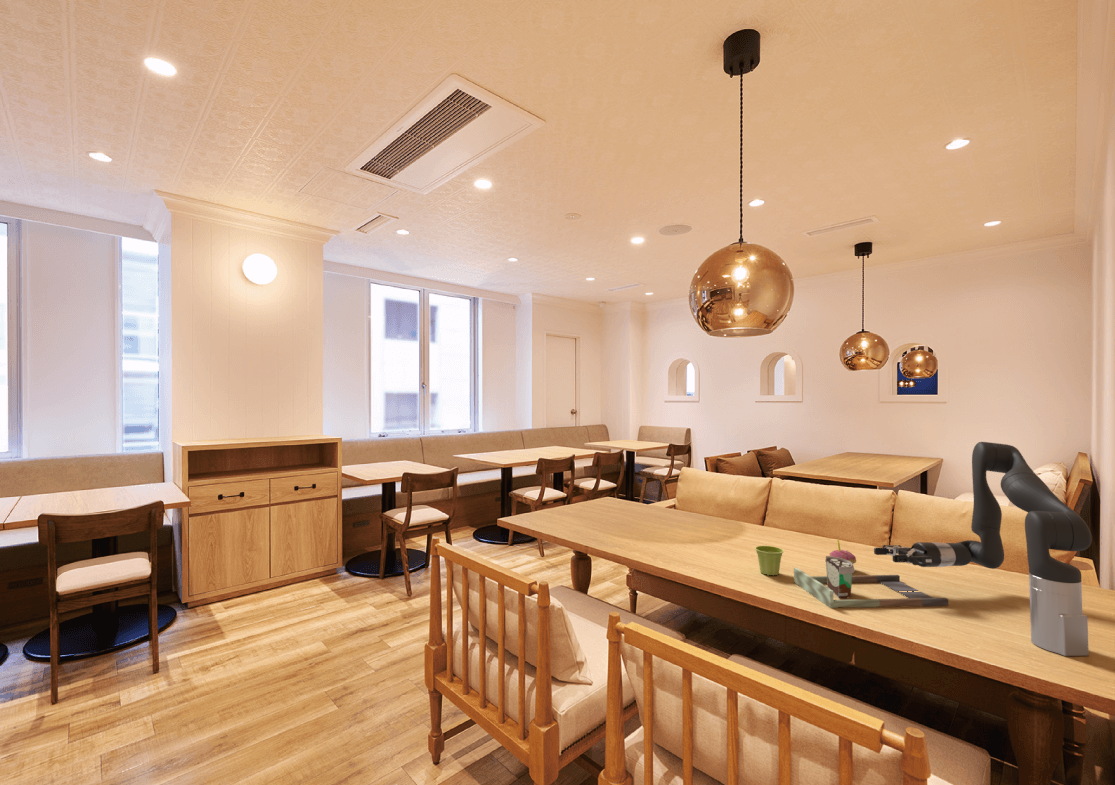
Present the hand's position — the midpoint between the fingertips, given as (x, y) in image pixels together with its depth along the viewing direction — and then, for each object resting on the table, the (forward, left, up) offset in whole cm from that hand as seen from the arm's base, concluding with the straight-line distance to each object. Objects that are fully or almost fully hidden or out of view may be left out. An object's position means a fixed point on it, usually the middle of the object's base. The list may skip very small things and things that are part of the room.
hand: (883, 554), depth 157 cm
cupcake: (+23, 0, -13) cm, 26 cm away
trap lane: (+1, +6, -12) cm, 14 cm away
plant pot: (+21, +28, -13) cm, 37 cm away
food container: (+1, +13, -13) cm, 18 cm away
